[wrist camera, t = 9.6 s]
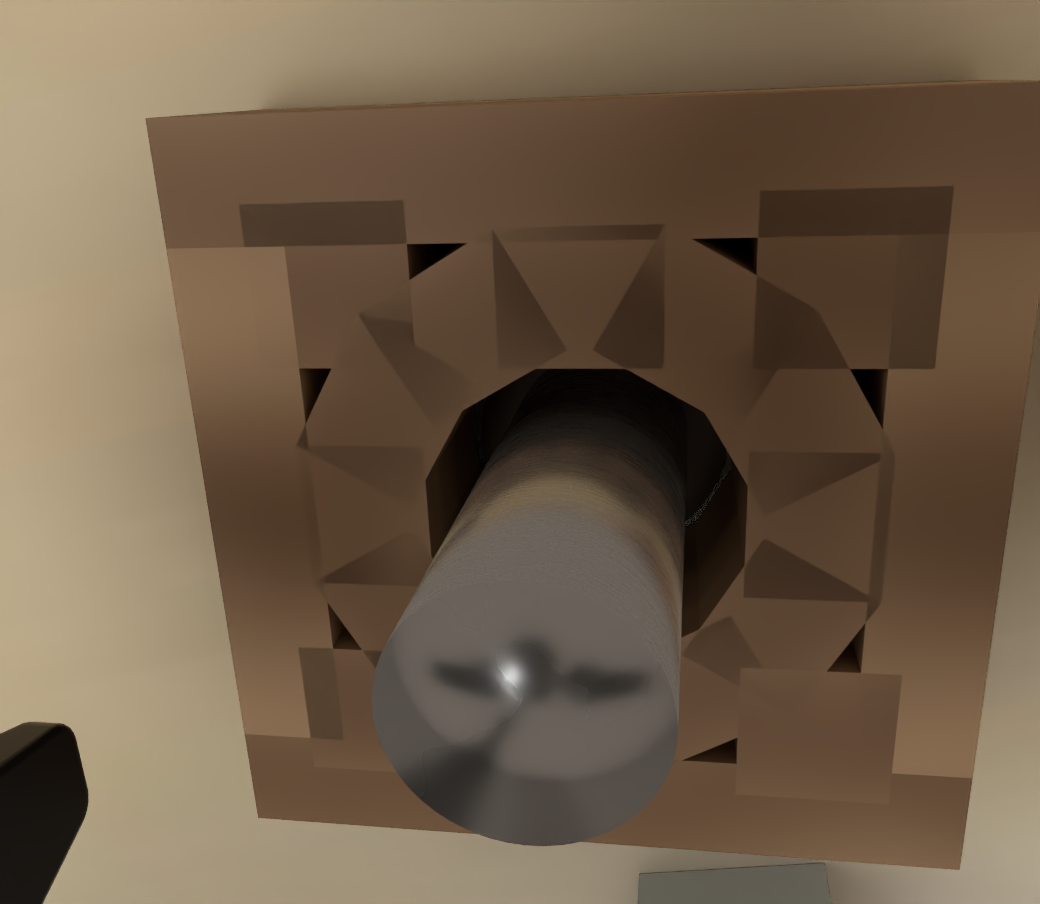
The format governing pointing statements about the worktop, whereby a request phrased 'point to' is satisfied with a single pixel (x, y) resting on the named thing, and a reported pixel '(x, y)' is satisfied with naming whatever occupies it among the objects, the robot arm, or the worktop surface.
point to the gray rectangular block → (738, 886)
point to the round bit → (550, 622)
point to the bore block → (663, 362)
